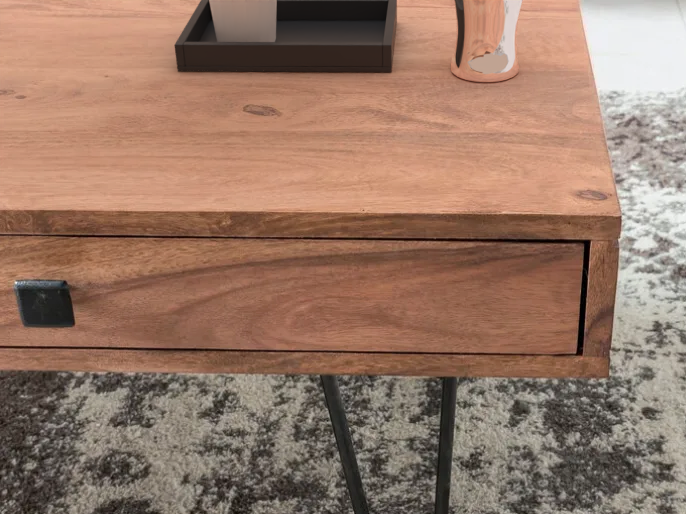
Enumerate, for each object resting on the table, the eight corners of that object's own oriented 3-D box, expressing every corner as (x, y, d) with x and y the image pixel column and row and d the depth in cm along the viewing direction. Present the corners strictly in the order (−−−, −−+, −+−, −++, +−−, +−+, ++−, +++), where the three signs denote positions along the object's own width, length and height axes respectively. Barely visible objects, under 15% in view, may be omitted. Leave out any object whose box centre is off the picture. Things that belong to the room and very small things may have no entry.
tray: (177, 71, 96) (174, 44, 95) (204, 22, 107) (201, -3, 106) (391, 72, 95) (391, 45, 93) (396, 22, 106) (396, -3, 104)
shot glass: (290, 30, 103) (286, -44, 99) (270, 55, 98) (265, -23, 93) (224, 27, 104) (217, -47, 100) (200, 50, 99) (192, -26, 95)
